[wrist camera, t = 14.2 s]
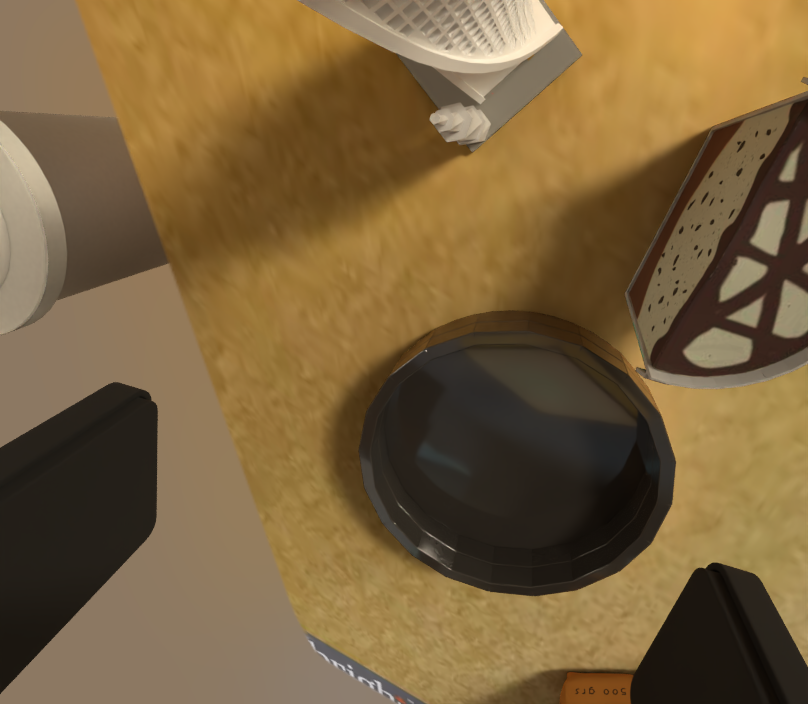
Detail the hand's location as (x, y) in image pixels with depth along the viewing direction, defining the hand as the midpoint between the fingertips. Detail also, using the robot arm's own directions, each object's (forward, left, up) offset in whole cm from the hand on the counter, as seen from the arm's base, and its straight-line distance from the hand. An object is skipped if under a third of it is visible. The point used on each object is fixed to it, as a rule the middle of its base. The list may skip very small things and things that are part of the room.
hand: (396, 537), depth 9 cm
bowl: (+4, -12, -25) cm, 28 cm away
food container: (+11, +4, -25) cm, 28 cm away
